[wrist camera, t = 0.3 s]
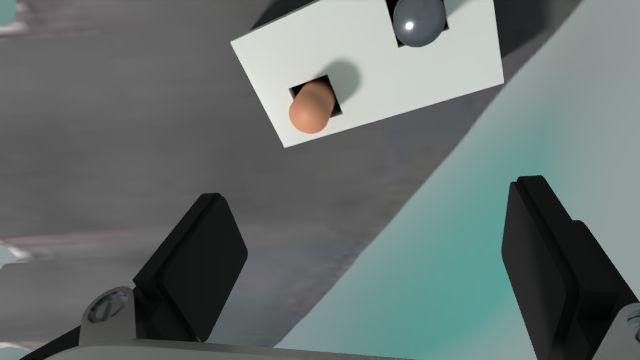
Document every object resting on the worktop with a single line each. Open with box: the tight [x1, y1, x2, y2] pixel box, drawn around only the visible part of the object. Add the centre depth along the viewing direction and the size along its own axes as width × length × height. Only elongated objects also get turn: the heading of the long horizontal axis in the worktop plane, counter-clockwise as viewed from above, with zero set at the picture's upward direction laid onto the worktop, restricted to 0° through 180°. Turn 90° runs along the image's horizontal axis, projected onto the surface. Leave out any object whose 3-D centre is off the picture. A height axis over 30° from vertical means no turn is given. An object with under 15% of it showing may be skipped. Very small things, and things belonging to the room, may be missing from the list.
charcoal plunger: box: [393, 0, 446, 47], centre depth 31 cm, size 4×4×6 cm
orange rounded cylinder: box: [289, 79, 336, 134], centre depth 38 cm, size 4×4×6 cm
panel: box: [230, 0, 504, 147], centre depth 38 cm, size 14×26×6 cm, turn 113°
